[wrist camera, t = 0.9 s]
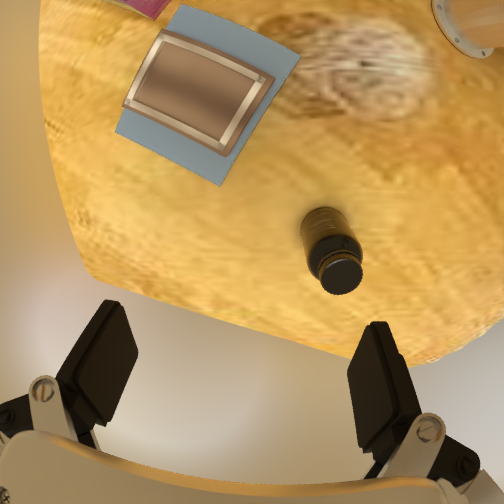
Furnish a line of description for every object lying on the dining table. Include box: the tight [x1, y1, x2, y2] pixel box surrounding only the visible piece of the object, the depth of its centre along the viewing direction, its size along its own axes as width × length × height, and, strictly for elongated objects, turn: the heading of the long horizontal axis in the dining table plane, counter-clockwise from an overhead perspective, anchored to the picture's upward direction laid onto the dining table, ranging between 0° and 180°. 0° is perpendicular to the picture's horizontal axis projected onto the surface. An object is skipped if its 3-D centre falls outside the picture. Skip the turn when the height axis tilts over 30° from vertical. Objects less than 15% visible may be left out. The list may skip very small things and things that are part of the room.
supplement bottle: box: [301, 208, 363, 295], centre depth 34 cm, size 7×7×12 cm
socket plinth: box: [122, 28, 275, 158], centre depth 28 cm, size 11×15×4 cm
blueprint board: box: [115, 4, 301, 186], centre depth 30 cm, size 20×17×1 cm
